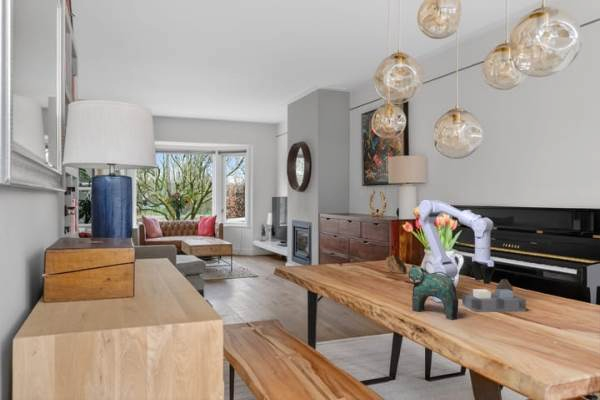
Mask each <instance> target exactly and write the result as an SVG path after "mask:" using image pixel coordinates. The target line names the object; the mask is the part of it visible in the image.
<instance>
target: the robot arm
mask: <svg viewBox="0 0 600 400" xmlns="http://www.w3.org/2000/svg"><path fill="white" fill-rule="evenodd" d="M417 209H418V212H419V220H420V221H419V222H420V225H421V228H422V231H423V234H424V236H425V238H426V241H427V243H428V246H429V249H430V252H431V254H432V257H433V259H434V260H433V262H432V264H433V265H432V269H433V271H432V273H435V272H443V273H446V274H447V275H449V276H450V277H451V279H452V281H453V283H454V284H455V280H456V277H457V275H458V273H459V272H458V271H459V270H458V266H457V265H456V264H455V263H454V262H453V259H451V257H449V256H448V255H447V252H446V250H445V247H444V245H443V242H442V240H441V237H440V234H439V232H438V230H437V227H436V224H435V221H436V219H437V218H438V217H439V216H440V215H441V214H442V213H445V214H447V215H449V216H451V217H454V218H456V219H458V222H459V223H461V224H462V225H464V226H467V227H469V228H471V229H472V230H473V232H474V256H471V261H472V262H470V263H469V266H470V267H471V269H472V273H473V276H474V277H473V278H474V280H475V281H482V280H483V284H484V285H490V284H491V281H492V276H493V274H494V272H495V271H496V269H497V267H496V266H495V262H494V259H493V258H491V232H492V230H493V228H494V222H493V220H492V219H490V218H489V217H482V215H480V214H476V213H473V212H472V210H470V209H465V210H460V209H458V208H456V207H454V206H453V205H450V204H448V203H447V202H445V201H441V200H440V199H434V200H433V199H431V200H430V199H429V200H428V199H423V200H422V201H421V202H420V203H419V206H418V208H417ZM436 274H441V275H444V276H446V277H448V276H447V275H445V274H442V273H436ZM448 278H449V277H448ZM482 278H483V279H482ZM449 279H450V278H449ZM451 279H450V280H451ZM429 298H430V299H431V300H433V301H434V302H436V303H442V301H441V300H440V299H439V298H436V297H432V296H429Z"/></svg>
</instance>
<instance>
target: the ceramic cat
mask: <svg viewBox="0 0 600 400" xmlns="http://www.w3.org/2000/svg"><path fill="white" fill-rule="evenodd" d="M427 263H429V264H431V266H433V262H432V261H429V260H428V261H427V260H426V261H425V263H424V265H426V264H427ZM436 273H442V274H445V275H447V274H446V273H443V272H435V273H433V272H429V271H428V270H427V268H426V267H421V266H420V267H419V266H418V267H417V266H416V265H415V264H412V265H411V268H410V270H408V280H409V282H411V283H412V284H413V287H412V297H411V301H412V303H411V305H412V309H411V310H412V311H413V312H417V313H419V312H420V313H421V312H425V304H426V301H427V299H428V298H429V297H431V296H432V297H436V298H439V299H440V300H441V301H442V302H441V303H442V306H443V309H444V313H445V318H446V319H447V320H451V321H455V320H457V318H458V312H459V299H458V292H457V287H456V285H455V282H454V283H453V281H452V279H451V277H450V276H449V275H447V276H448V277H449V278H450V279H451V280H450V279H449V278H448V277H446V276H444V275H441V274H436Z"/></svg>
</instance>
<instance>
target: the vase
mask: <svg viewBox="0 0 600 400" xmlns="http://www.w3.org/2000/svg"><path fill="white" fill-rule="evenodd" d="M495 289H508V290H510V291H513V292H514V289H513V286H512V284H510V282H509V280H508V279H507V278H503V279H501V280H500V281H499V283H498V284H497V285H496V287H495Z"/></svg>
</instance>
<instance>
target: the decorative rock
mask: <svg viewBox="0 0 600 400" xmlns="http://www.w3.org/2000/svg"><path fill="white" fill-rule="evenodd" d="M385 262H386V265H387V267H388V270H389V271H390V272H392V273H396V274H399V275H404V274H406V272H407V266H406V265H405V263H404V262H403V260H401V258H399V257H398V256H397V255H396V254H391V256H386V258H385Z"/></svg>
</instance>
